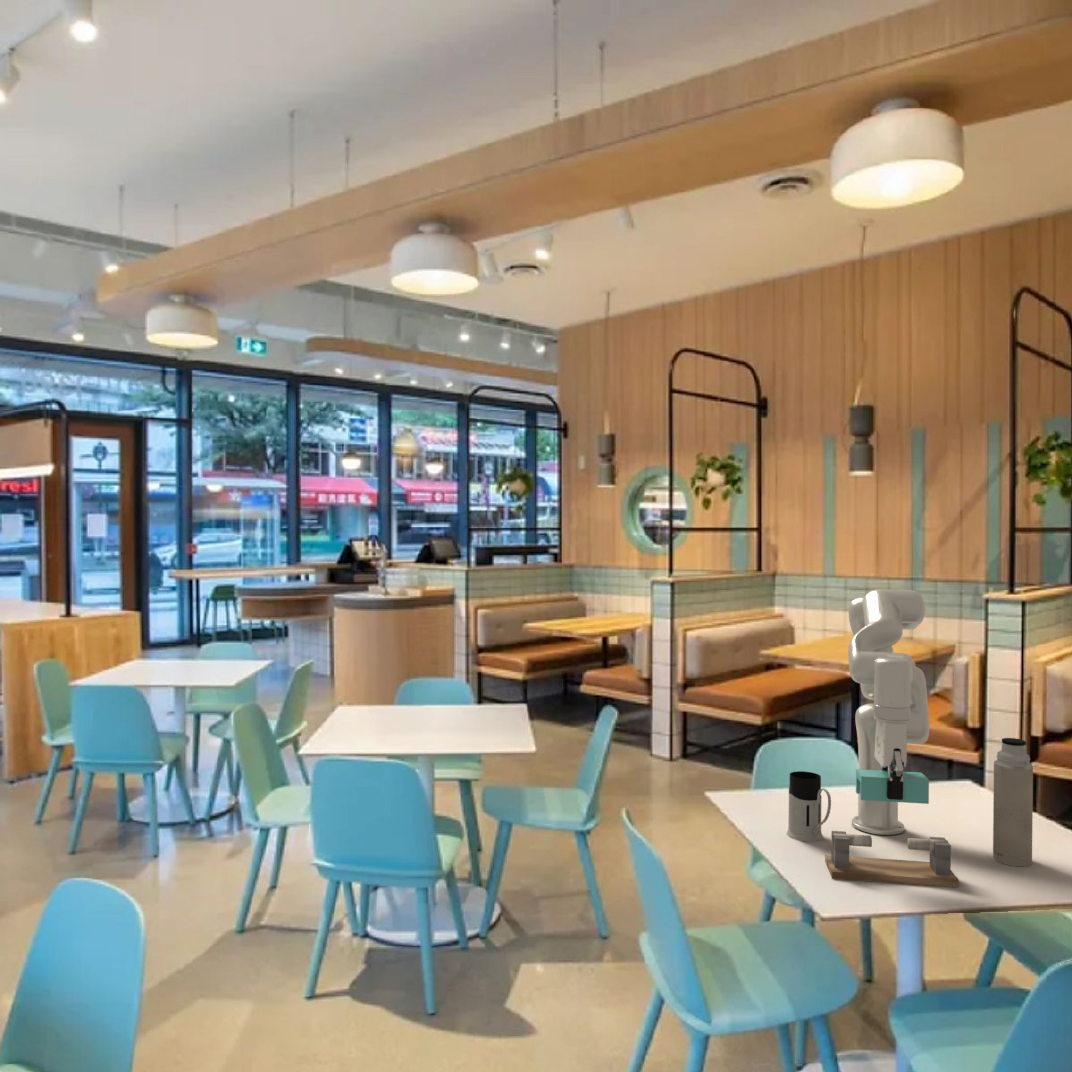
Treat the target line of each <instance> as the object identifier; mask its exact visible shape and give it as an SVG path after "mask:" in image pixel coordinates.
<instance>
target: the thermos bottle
mask: <svg viewBox="0 0 1072 1072" xmlns="http://www.w3.org/2000/svg"><path fill="white" fill-rule="evenodd" d="M1026 744H1027V742H1026V741H1025V739H1020V738H1015V737H1003V738H1001V749H1000V750H999V751H997V754H996V760H994V762H993V803H992V804H993V807H992V808H993V809H992V810H993V812H992V813H993V819H992V820H993V821H992V824H993V825H992V827H993V828H992V831H993V832H992V859H994V860H995V861H997V862H999V863H1001V864H1003V865H1008V866H1013V867H1028V866H1031V865H1032V864H1033V815H1034V814H1033V812H1034V810H1033V809H1034V808H1033V807H1034V806H1033V801H1034V799H1033V795H1034V793H1033V792H1034V786H1033V785H1034V780H1033V779H1034V766H1033V765H1032V764H1030V761H1031V758H1030V754H1028V753H1027V752H1026Z"/></svg>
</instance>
